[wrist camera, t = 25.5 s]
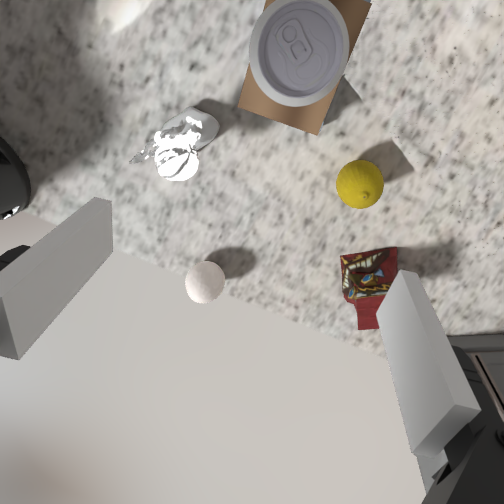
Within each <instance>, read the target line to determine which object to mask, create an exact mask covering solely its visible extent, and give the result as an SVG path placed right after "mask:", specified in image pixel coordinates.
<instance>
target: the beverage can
mask: <svg viewBox="0 0 504 504" xmlns="http://www.w3.org/2000/svg"><path fill="white" fill-rule="evenodd" d="M348 55H349V36H348V31H347V27H346V24H345V22H344V19H343V17H342V15H341V14H340V12H339V11H338V9H337V8H336V7H335V6H334V5H333V4H332V3H331V2H330V1H328V0H275V1H274V2H273V3H271V4H270V5H269V6H268V7H267V8H266V9H265V10H264V12H263V13H262V14H261V16H260V17H259V19H258V20H257V22H256V24H255V26H254V29H253V32H252V35H251V39H250V45H249V61H250V67H251V71H252V74H253V76H254V79H255V81H256V83H257V84H258V86H259V87H260V89H261V90H262V91H263V92H264V93H265V94H266V95H267V96H268V97H269V98H271V99H272V100H274V101H275V102H277V103H280V104H282V105H286V106H292V107H300V106H306V105H310V104H312V103H315V102H317V101H319V100H320V99H322V98H323V97H325V96H326V95H327V94H328V93H330V92H331V91H332V90H333V88H334V87H335V86H336V85H337V83H338V82H339V80H340V78H341V77H342V75H343V73H344V70H345V67H346V64H347V61H348Z"/></svg>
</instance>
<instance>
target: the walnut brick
mask: <svg viewBox="0 0 504 504" xmlns="http://www.w3.org/2000/svg"><path fill="white" fill-rule="evenodd" d="M274 1H275V0H266V3H265V6H264V10H265V9H266V8H267V7H268V6H269V5H270V4H271V3H273V2H274ZM328 1H330V2H331V3H332V4H333V5H334V6H335V7H336V8H337V9H338V11H339V12H340V14H341V15H342V17H343V19H344V22H345V24H346V27H347V31H348V36H349V55H348V60H349V58H350V55H351V53H352V51H353V48H354V46H355V43H356V41H357V38H358V36H359V34H360V31H361V29H362V26H363V24H364V22H365V19H366V17H367V14H368V12H369V9H370V7H371V5H372V3H369V2H366V1H364V0H328ZM264 10H263V12H264ZM347 63H348V61H347ZM346 65H347V64H346ZM345 68H346V67H345ZM340 80H341V78H340ZM340 80H339V82H340ZM339 82H338V83H337V85H336V86H335V87H334V88H333V90H332V91H331V92H330V93H328V94H327V95H326V96H325V97H323V98H322V99H320V100H319V101H317V102H315V103H312V104H310V105H306V106H300V107H292V106H286V105H282V104H280V103H277V102H275V101H274V100H272V99H271V98H269V97H268V96H267V95H266V94H265V93H264V92H263V91H262V90H261V89H260V87H259V86H258V84H257V83H256V81H255V79H254V76H253V74H252V71H251V67H250V62H249V66H248V69H247V73H246V77H245V80H244V84H243V88H242V91H241V95H240V99H239V103H238V106H237V107H239V108H242V109H244V110H247V111H250V112H253V113H256V114H258V115H261V116H264V117H267V118H269V119H272V120H275V121H278V122H281V123H283V124H286V125H289V126H292V127H295V128H297V129H300V130H303V131H306V132H308V133H311V134H314V135H318V133H319V130H320V128H321V126H322V123H323V121H324V118H325V116H326V114H327V111H328V109H329V106H330V104H331V101H332V99H333V97H334V94H335V92H336V89H337V87H338V84H339Z"/></svg>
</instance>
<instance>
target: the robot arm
mask: <svg viewBox="0 0 504 504" xmlns="http://www.w3.org/2000/svg"><path fill="white" fill-rule="evenodd" d="M30 193H31V186H30V180H29V176H28V174H27V171H26V169H25V167H24V165H23V163H22V161H21V160H20V158H19V156H18V155H17V154H16V152H15V151H14V150H13V149H12V148H11V147H10V146H9V144H8V143H6V142H5V141H4V140H3V139H2V138H1V137H0V220H2V219H6V218H9V217H12V216H14V215H15V214H17V213H19V212H20V211H22V210H23V209H24V208H25V207H26V205H27V204H28V201H29V199H30ZM112 252H113V236H112V205H111V201H109V200H105V199H101V198H97V197H94V198H93V199H91V200H90V201H89V202H88V203H86V204H85V205H84V206H82V207H81V208H80V209H79V210H77V211H76V212H75V213H74V214H72V215H71V216H70V217H69V218H67V219H66V220H65V221H63V222H62V223H61V224H60V225H58V226H57V227H56V228H55V229H53V230H52V231H51V232H50V233H48V234H47V235H46V236H44V237H43V238H42V239H41V240H39V241H38V242H37V243H36V244H34V245H33V246H32V247H30V246H26V245H21V246H18V247H16V248H13V249H11V250H8V251H7V252H5V253H4V254H2V255H1V256H0V356H3V357H7V358H11V359H16V360H20V359H21V357H22V356H23V355H24V354H25V352H27V350H28V349H29V348H30V347H31V346H32V345H33V344H34V342H35V341H36V340H37V339H38V338H39V337H40V335H41V334H42V333H43V332H44V331H45V330H46V329H47V327H48V326H49V325H50V324H51V323H52V321H53V320H54V319H55V318H56V317H57V316H58V315H59V314H60V312H61V311H62V310H63V309H64V308H65V306H66V305H67V304H68V303H69V302H70V301H71V300H72V299H73V297H74V296H75V295H76V294H77V293H78V292H79V290H80V289H81V288H82V287H83V286H84V285H85V283H86V282H87V281H88V280H89V279H90V278H91V277H92V275H93V274H94V273H95V272H96V271H97V269H98V268H99V267H100V266H101V265H102V264H103V263H104V262H105V260H106V259H107V258H108V257H109V256H110V255H111V254H112ZM376 316H377V320H378V324H379V328H380V332H381V336H382V340H383V344H384V347H385V351H386V355H387V359H388V363H389V367H390V371H391V375H392V379H393V383H394V386H395V390H396V394H397V398H398V402H399V406H400V410H401V414H402V417H403V422H404V425H405V429H406V433H407V437H408V441H409V445H410V449H411V453H414V454H419V455H423V456H427V457H431V458H435V457H436V456H437V455H438V454H439V453H440V452H441V451H442V450H443V449H444V450H445V453H446V456H447V459H448V462H447V463H445V464H444V465H443V466H442V467H441V468H440V469H439V470H438V471H437V472H436V473H435V474H434V475H433V476H432V478H433V479H434V480H435V481H434V482H433V484H432V486H431V488H430V490H429V491H428V493H427V495H426V497H425V498H424V500H423V502H422V504H504V422H503V420H502V418H501V416H500V415H499V413H498V411H497V409H496V407H495V405H494V403H493V401H492V399H491V397H490V395H489V393H488V391H487V389H486V387H485V385H483V381H482V379H481V377H480V375H479V374H477V370H476V368H475V366H474V364H473V362H472V360H471V359H470V357H469V356H468V355H467V354H466V353H465V352H464V351H463V350H462V349H461V347H457V346H453V345H450V342H449V340H448V338H447V336H446V334H445V332H444V330H443V328H442V325H441V323H440V321H439V319H438V317H437V315H436V313H435V311H434V308H433V306H432V304H431V302H430V300H429V298H428V296H427V294H426V291H425V289H424V287H423V285H422V283H421V281H420V279H419V277H418V274H417V273H414V272H410V271H406V270H402V269H400V270H399V272H398V274H397V276H396V278H395V279H394V281H393V283H392V285H391V287H390V289H389V291H388V292H387V294H386V296H385V298H384V300H383V302H382V303H381V305H380V307H379V309H378V311H377V313H376Z"/></svg>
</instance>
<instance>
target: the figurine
mask: <svg viewBox="0 0 504 504" xmlns="http://www.w3.org/2000/svg"><path fill="white" fill-rule="evenodd" d="M218 130H219V123H218V121H217V120H216V119H215V118H214V117H213V116H212V115H210V114H207V113H204V112H202V111H200V110H198V109H196V108H194V107H188V108H186V109H185V110H184V112H182V113H181V114H179V115H177V116H175V117H173V118H171V119H170V120H169V121H167V122H166V123H165V124H164V126H163V128H162V129H161V131H158V132H157V133H156V134H155V138H154V139H151V140H150V141H149V142H148V143H147V144H146V147H145V149H144V150H142V153H139V152H138V154H139V155H138V154H136V156H134V157H133V159H132V160H131V161H129V163H130V164H131V163H139V162H141V161H143V160H144V159H147V158H148V157H151V156H152V157H153V158H155V164H156V168H157V171H158V172H159V174H160V175H161V176H162V177H164V178H165V179H168V180H172V181H175V180H178V181H183V180H186V179H188V178H190V177H192V176H193V175H194V174H195V172H196V171H197V169H198V164H199V156H198V153H197V152H196V151H197V150H199V149H200V148H202V147H203V146H205V145H207V144H208V143H209V142H211V141H212V140H213V139H214V138H215V136H216V134H217V133H218ZM153 143H155V144H154V145H153V146H156V149H155V150H154V152H153V151H150V146H151V145H152V144H153ZM155 151H157V152H155Z"/></svg>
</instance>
